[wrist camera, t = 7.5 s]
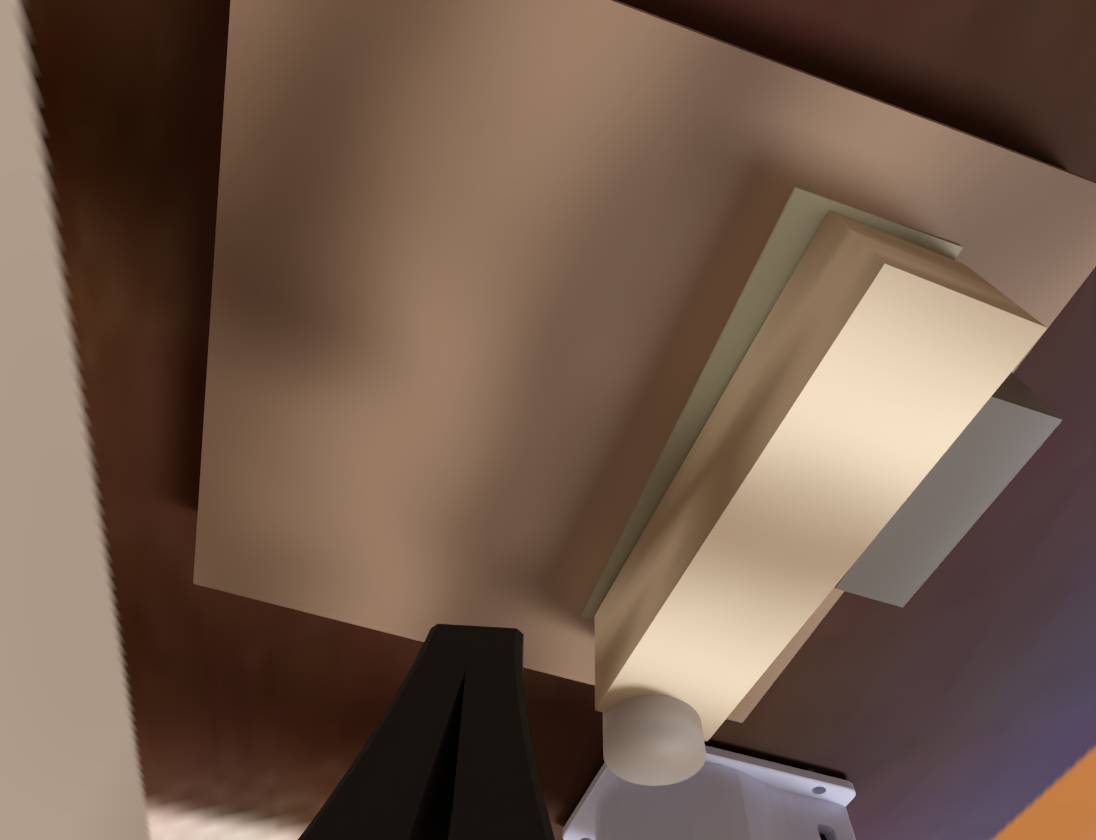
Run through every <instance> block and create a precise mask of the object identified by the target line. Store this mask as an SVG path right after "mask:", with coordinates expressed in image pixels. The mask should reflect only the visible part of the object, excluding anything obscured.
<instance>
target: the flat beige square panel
mask: <svg viewBox="0 0 1096 840" xmlns="http://www.w3.org/2000/svg"><path fill="white" fill-rule="evenodd" d="M829 210H831V211H834V212H836V213H839V214H841V215H844V216H846V217H849V218H851V219H854V220H856V221H859V222H861V223H864V224H866V225H869V226H871V227H874V228H876V229H878V230H881V231H883V232H886V233H888V234H891V235H893V236H896V237H898V238H901V239H903V240H906V241H908V242H911V243H913V244H916V245H918V246H921V247H923V248H926V249H928V250H931V251H933V252H936V253H938V254H941V255H943V256H946V257H948V258H950V259H953V260H955V261H958V262H960V263H963V264H965V265H966V266H967V267H969V268H970V269H971V270H973V271H974V272H975V273H977V274H978V275H979V276H980V277H982V278H983V279H984V280H986V281H987V282H988V283H990V284H991V285H992V286H994V287H995V288H996V289H997V290H999V291H1000V292H1001V293H1003V294H1004V295H1005V296H1007V297H1008V298H1009V299H1010V300H1012V301H1013V302H1014V303H1016V304H1017V305H1018V306H1020V307H1021V308H1022V309H1024V310H1025V311H1026V312H1027V313H1029V314H1030V315H1031V316H1033V317H1034V318H1035V319H1037V320H1038V321H1039V322H1040V323H1042V324H1043V325H1044V326H1046V327H1047V328H1048V327H1049V326H1050V325H1051V323H1052V322H1053V321H1054V319H1055V318H1056V317H1057V316H1058V314H1059V313H1060V312H1061V310H1062V309H1063V308H1064V306H1065V305H1066V304H1067V303H1068V301H1069V300H1070V299H1071V297H1072V296H1073V295H1074V294H1075V292H1076V291H1077V290H1078V288H1079V287H1080V286H1081V284H1082V283H1083V282H1084V281H1085V279H1086V278H1087V277H1088V275H1089V274H1090V273H1091V272H1092V270H1093V269H1094V268H1095V266H1096V182H1094V181H1092V180H1089V179H1087V178H1084V177H1082V176H1080V175H1077V174H1075V173H1072V172H1070V171H1067V170H1064V169H1062V168H1059V167H1056V166H1054V165H1051V164H1048V163H1046V162H1043V161H1041V160H1038V159H1035V158H1033V157H1030V156H1027V155H1025V154H1022V153H1019V152H1017V151H1014V150H1011V149H1009V148H1006V147H1004V146H1001V145H998V144H996V143H993V142H990V141H988V140H985V139H982V138H980V137H977V136H974V135H972V134H969V133H966V132H964V131H961V130H959V129H956V128H953V127H951V126H948V125H945V124H943V123H940V122H937V121H935V120H932V119H929V118H927V117H924V116H921V115H919V114H916V113H914V112H911V111H908V110H906V109H903V108H900V107H898V106H895V105H892V104H890V103H887V102H884V101H882V100H879V99H876V98H874V97H871V96H869V95H866V94H863V93H861V92H858V91H855V90H853V89H850V88H847V87H845V86H842V85H839V84H837V83H834V82H831V81H829V80H826V79H824V78H821V77H818V76H816V75H813V74H810V73H808V72H805V71H802V70H800V69H797V68H794V67H792V66H789V65H786V64H784V63H781V62H779V61H776V60H773V59H771V58H768V57H765V56H763V55H760V54H757V53H755V52H752V51H749V50H747V49H744V48H741V47H739V46H736V45H734V44H731V43H728V42H726V41H723V40H720V39H718V38H715V37H712V36H710V35H707V34H704V33H702V32H699V31H696V30H694V29H691V28H689V27H686V26H683V25H681V24H678V23H675V22H673V21H670V20H667V19H665V18H662V17H659V16H657V15H654V14H651V13H649V12H646V11H644V10H641V9H638V8H636V7H633V6H630V5H628V4H625V3H622V2H620V1H617V0H230V15H229V31H228V47H227V62H226V78H225V94H224V109H223V125H222V141H221V156H220V172H219V188H218V203H217V219H216V235H215V250H214V266H213V282H212V297H211V313H210V329H209V344H208V360H207V375H206V391H205V407H204V422H203V438H202V454H201V469H200V485H199V501H198V516H197V532H196V548H195V563H194V579H193V584H197V585H201V586H204V587H208V588H212V589H216V590H220V591H224V592H228V593H232V594H236V595H240V596H244V597H248V598H252V599H256V600H260V601H264V602H268V603H272V604H275V605H279V606H283V607H287V608H291V609H295V610H299V611H303V612H307V613H311V614H315V615H319V616H323V617H327V618H331V619H335V620H339V621H342V622H346V623H350V624H354V625H358V626H362V627H366V628H370V629H374V630H378V631H382V632H386V633H390V634H394V635H398V636H402V637H406V638H410V639H413V640H417V641H421V642H425V640H426V637H427V635H428V633H429V631H430V629H431V628H432V627H433V626H435V625H436V624H451V625H468V626H485V627H503V628H517V629H518V630H519V631H520V632H522V633H523V634H524V649H523V667H524V668H528V669H532V670H536V671H540V672H544V673H548V674H551V675H555V676H559V677H563V678H567V679H571V680H575V681H579V682H583V683H587V684H591V685H595V614H596V612H597V611H598V609H599V607H600V605H601V604H602V602H603V600H604V598H605V597H606V595H607V593H608V592H609V590H610V588H611V586H612V585H613V583H614V581H615V579H616V578H617V576H618V574H619V573H620V571H621V569H622V567H623V566H624V564H625V562H626V560H627V559H628V557H629V555H630V554H631V552H632V550H633V548H634V547H635V545H636V543H637V541H638V540H639V538H640V536H641V535H642V533H643V531H644V529H645V528H646V526H647V524H648V522H649V521H650V519H651V517H652V516H653V514H654V512H655V510H656V509H657V507H658V505H659V503H660V502H661V500H662V498H663V497H664V495H665V493H666V491H667V490H668V488H669V486H670V484H671V483H672V481H673V479H674V478H675V476H676V474H677V472H678V471H679V469H680V467H681V465H682V464H683V462H684V460H685V459H686V457H687V455H688V453H689V452H690V450H691V448H692V446H693V445H694V443H695V441H696V440H697V438H698V436H699V434H700V433H701V431H702V429H703V427H704V426H705V424H706V422H707V421H708V419H709V417H710V415H711V414H712V412H713V410H714V408H715V407H716V405H717V403H718V402H719V400H720V398H721V396H722V395H723V393H724V391H725V389H726V388H727V386H728V384H729V383H730V381H731V379H732V377H733V376H734V374H735V372H736V370H737V369H738V367H739V365H740V364H741V362H742V360H743V358H744V357H745V355H746V353H747V351H748V350H749V348H750V346H751V345H752V343H753V341H754V339H755V338H756V336H757V334H758V332H759V331H760V329H761V327H762V326H763V324H764V322H765V320H766V319H767V317H768V315H769V313H770V312H771V310H772V308H773V307H774V305H775V303H776V301H777V300H778V298H779V296H780V294H781V293H782V291H783V289H784V288H785V286H786V284H787V282H788V281H789V279H790V277H791V275H792V274H793V272H794V270H795V269H796V267H797V265H798V263H799V262H800V260H801V258H802V256H803V255H804V253H805V251H806V250H807V248H808V246H809V244H810V243H811V241H812V239H813V237H814V236H815V234H816V232H817V231H818V229H819V227H820V225H821V224H822V222H823V220H824V218H825V217H826V215H827V213H828V212H829ZM1046 330H1047V329H1046ZM1046 330H1045V331H1046ZM1043 334H1044V333H1043ZM1043 334H1042V335H1043ZM1042 335H1041V336H1042ZM1039 339H1040V338H1039ZM1039 339H1038V340H1039ZM1038 340H1037V341H1038ZM1037 341H1036V343H1037ZM1036 343H1035V344H1036ZM1035 344H1034V345H1035ZM1034 345H1033V346H1032V347H1031V349H1032V348H1033V347H1034ZM1031 349H1030V350H1031ZM1030 350H1029V351H1028V352H1027V354H1028V353H1029V352H1030ZM1027 354H1026V355H1025V356H1024V357H1023V358H1022V360H1021V361H1020V362H1019V363H1018V365H1017V366H1016V367H1015V368H1014V369H1013V371H1012V372H1011V373H1010V374H1009V375H1008V377H1007V378H1006V379H1005V380H1004V382H1003V383H1002V384H1001V385H1000V386H999V388H998V389H997V390H996V391H995V392H994V394H993V395H992V396H991V397H990V399H989V400H988V401H987V402H986V403H985V405H984V406H983V407H982V408H981V409H980V411H979V412H978V413H977V414H976V416H975V417H974V418H973V419H972V420H971V422H970V423H969V424H968V425H967V427H966V428H965V429H964V430H963V431H962V433H961V434H960V435H959V436H958V437H957V439H956V440H955V441H954V442H953V444H952V445H951V446H950V447H949V448H948V450H947V451H946V452H945V453H944V454H943V456H942V457H941V458H940V459H939V461H938V462H937V463H936V464H935V465H934V467H933V468H932V469H931V470H930V471H929V473H928V474H927V475H926V476H925V478H924V479H923V480H922V481H921V482H920V484H919V485H918V486H917V487H916V489H915V490H914V491H913V492H912V493H911V495H910V496H909V497H908V498H907V499H906V501H905V502H904V503H903V504H902V506H901V507H900V508H899V509H898V510H897V512H896V513H895V514H894V515H893V516H892V518H891V519H890V520H889V521H888V523H887V524H886V525H885V526H884V527H883V529H882V530H881V531H880V532H879V533H878V535H877V536H876V537H875V538H874V540H873V541H872V542H871V543H870V544H869V546H868V547H867V548H866V549H865V551H864V552H863V553H862V554H861V555H860V557H859V558H858V559H857V560H856V561H855V563H854V564H853V565H852V566H851V568H850V569H849V570H848V571H847V572H846V574H845V575H844V576H843V577H842V578H841V580H840V581H839V582H838V583H837V585H836V586H835V587H834V588H833V589H832V591H831V592H830V593H829V594H828V595H827V597H826V598H825V599H824V600H823V602H822V603H821V604H820V605H819V606H818V608H817V609H816V610H815V611H814V613H813V614H812V615H811V616H810V617H809V619H808V620H807V621H806V622H805V623H804V625H803V626H802V627H801V628H800V630H799V631H798V632H797V633H796V634H795V636H794V637H793V638H792V639H791V640H790V642H789V643H788V644H787V645H786V647H785V648H784V649H783V650H782V651H781V653H780V654H779V655H778V656H777V657H776V659H775V660H774V661H773V662H772V664H771V665H770V666H769V667H768V668H767V670H766V671H765V672H764V673H763V675H762V676H761V677H760V678H759V679H758V681H757V682H756V683H755V684H754V685H753V687H752V688H751V689H750V690H749V692H748V693H747V694H746V695H745V696H744V698H743V699H742V700H741V701H740V702H739V704H738V705H737V706H736V707H735V709H734V710H733V711H732V712H731V713H730V715H729V716H728V717H727V718H726V719H729V720H733V721H737V722H741V723H743V721H744V720H745V719H746V717H747V716H748V715H749V714H750V712H751V711H752V710H753V708H754V707H755V706H756V705H757V703H758V702H759V701H760V699H761V698H762V697H763V695H764V694H765V693H766V692H767V690H768V689H769V688H770V686H771V685H772V684H773V683H774V681H775V680H776V679H777V677H778V676H779V675H780V674H781V672H782V671H783V670H784V668H785V667H786V666H787V664H788V663H789V662H790V661H791V659H792V658H793V657H794V655H795V654H796V653H797V652H798V650H799V649H800V648H801V646H802V645H803V644H804V642H805V641H806V640H807V639H808V637H809V636H810V635H811V633H812V632H813V631H814V630H815V628H816V627H817V626H818V624H819V623H820V622H821V621H822V619H823V618H824V617H825V615H826V614H827V613H828V611H829V610H830V609H831V608H832V606H833V605H834V604H835V602H836V601H837V600H838V599H839V597H840V596H841V595H842V593H843V592H844V591H846V592H850V593H853V594H857V595H860V596H864V597H868V598H871V599H875V600H878V601H882V602H885V603H889V604H892V605H896V606H899V607H904V605H905V604H906V603H907V602H908V601H909V600H910V598H911V597H912V596H913V595H914V594H915V593H916V591H917V590H918V589H919V588H920V587H921V585H922V584H923V583H924V582H925V581H926V580H927V578H928V577H929V576H930V575H931V574H932V573H933V571H934V570H935V569H936V568H937V567H938V566H939V564H940V563H941V562H942V561H943V560H944V559H945V557H946V556H947V555H948V554H949V553H950V551H951V550H952V549H953V548H954V547H955V546H956V544H957V543H958V542H959V541H960V540H961V539H962V537H963V536H964V535H965V534H966V533H967V532H968V530H969V529H970V528H971V527H972V526H973V524H974V523H975V522H976V521H977V520H978V519H979V517H980V516H981V515H982V514H983V513H984V512H985V510H986V509H987V508H988V507H989V506H990V505H991V503H992V502H993V501H994V500H995V499H996V498H997V496H998V495H999V494H1000V493H1001V492H1002V490H1003V489H1004V488H1005V487H1006V486H1007V485H1008V483H1009V482H1010V481H1011V480H1012V479H1013V478H1014V476H1015V475H1016V474H1017V473H1018V472H1019V471H1020V469H1021V468H1022V467H1023V466H1024V465H1025V464H1026V462H1027V461H1028V460H1029V459H1030V458H1031V456H1032V455H1033V454H1034V453H1035V452H1036V451H1037V449H1038V448H1039V447H1040V446H1041V445H1042V444H1043V442H1044V441H1045V440H1046V439H1047V438H1048V437H1049V435H1050V434H1051V433H1052V432H1053V431H1054V429H1055V428H1056V427H1057V426H1058V425H1059V424H1060V422H1061V421H1062V419H1061V418H1060V417H1059V416H1058V415H1057V414H1056V413H1055V412H1054V411H1053V410H1052V409H1051V408H1049V407H1048V406H1047V405H1046V404H1045V403H1044V402H1043V401H1042V400H1041V399H1040V398H1039V397H1038V396H1037V395H1036V394H1035V393H1033V392H1032V391H1031V390H1030V389H1029V388H1028V387H1027V386H1026V385H1025V384H1024V383H1023V382H1022V381H1021V380H1020V379H1019V378H1017V377H1016V376H1015V375H1014V374H1013V372H1014V371H1015V370H1016V368H1017V367H1018V366H1019V365H1020V363H1021V362H1022V361H1023V359H1024V358H1025V357H1026V356H1027Z"/></svg>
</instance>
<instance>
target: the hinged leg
mask: <svg viewBox="0 0 1096 840" xmlns="http://www.w3.org/2000/svg"><path fill="white" fill-rule="evenodd" d="M1046 329H1047V327H1046V326H1044V325H1043V324H1042V323H1040V322H1039V321H1038V320H1037V319H1035V318H1034V317H1033V316H1031V315H1030V314H1029V313H1027V312H1026V311H1025V310H1024V309H1022V308H1021V307H1020V306H1018V305H1017V304H1016V303H1014V302H1013V301H1012V300H1010V299H1009V298H1008V297H1007V296H1005V295H1004V294H1003V293H1001V292H1000V291H999V290H997V289H996V288H995V287H994V286H992V285H991V284H990V283H988V282H987V281H986V280H984V279H983V278H982V277H980V276H979V275H978V274H977V273H975V272H974V271H973V270H971V269H970V268H969V267H967V266H966V265H965V264H963V263H960V262H958V261H955V260H953V259H950V258H948V257H946V256H943V255H941V254H938V253H936V252H933V251H931V250H928V249H926V248H923V247H921V246H918V245H916V244H913V243H911V242H908V241H906V240H903V239H901V238H898V237H896V236H893V235H891V234H888V233H886V232H883V231H881V230H878V229H876V228H874V227H871V226H869V225H866V224H864V223H861V222H859V221H856V220H854V219H851V218H849V217H846V216H844V215H841V214H839V213H836V212H834V211H831V210H829V212H828V213H827V215H826V217H825V218H824V220H823V222H822V224H821V225H820V227H819V229H818V231H817V232H816V234H815V236H814V237H813V239H812V241H811V243H810V244H809V246H808V248H807V250H806V251H805V253H804V255H803V256H802V258H801V260H800V262H799V263H798V265H797V267H796V269H795V270H794V272H793V274H792V275H791V277H790V279H789V281H788V282H787V284H786V286H785V288H784V289H783V291H782V293H781V294H780V296H779V298H778V300H777V301H776V303H775V305H774V307H773V308H772V310H771V312H770V313H769V315H768V317H767V319H766V320H765V322H764V324H763V326H762V327H761V329H760V331H759V332H758V334H757V336H756V338H755V339H754V341H753V343H752V345H751V346H750V348H749V350H748V351H747V353H746V355H745V357H744V358H743V360H742V362H741V364H740V365H739V367H738V369H737V370H736V372H735V374H734V376H733V377H732V379H731V381H730V383H729V384H728V386H727V388H726V389H725V391H724V393H723V395H722V396H721V398H720V400H719V402H718V403H717V405H716V407H715V408H714V410H713V412H712V414H711V415H710V417H709V419H708V421H707V422H706V424H705V426H704V427H703V429H702V431H701V433H700V434H699V436H698V438H697V440H696V441H695V443H694V445H693V446H692V448H691V450H690V452H689V453H688V455H687V457H686V459H685V460H684V462H683V464H682V465H681V467H680V469H679V471H678V472H677V474H676V476H675V478H674V479H673V481H672V483H671V484H670V486H669V488H668V490H667V491H666V493H665V495H664V497H663V498H662V500H661V502H660V503H659V505H658V507H657V509H656V510H655V512H654V514H653V516H652V517H651V519H650V521H649V522H648V524H647V526H646V528H645V529H644V531H643V533H642V535H641V536H640V538H639V540H638V541H637V543H636V545H635V547H634V548H633V550H632V552H631V554H630V555H629V557H628V559H627V560H626V562H625V564H624V566H623V567H622V569H621V571H620V573H619V574H618V576H617V578H616V579H615V581H614V583H613V585H612V586H611V588H610V590H609V592H608V593H607V595H606V597H605V598H604V600H603V602H602V604H601V605H600V607H599V609H598V611H597V612H596V614H595V710H596V711H599V712H603V757H604V762H605V764H606V766H607V767H608V768H609V770H610V771H611V772H612V773H614V774H615V775H616V776H618V777H620V778H622V779H624V780H626V781H628V782H632V783H635V784H640V785H648V786H661V785H669V784H674V783H678V782H681V781H684V780H686V779H688V778H690V777H692V776H693V775H695V774H696V773H697V772H698V771H699V770H700V769H701V768H702V766H703V765H704V763H705V760H706V750H705V743H704V741H708V740H709V739H710V738H711V737H712V735H713V734H714V733H715V732H716V730H717V729H718V728H719V727H720V726H721V724H722V723H723V722H724V721H725V719H726V718H727V717H728V716H729V715H730V713H731V712H732V711H733V710H734V709H735V707H736V706H737V705H738V704H739V702H740V701H741V700H742V699H743V698H744V696H745V695H746V694H747V693H748V692H749V690H750V689H751V688H752V687H753V685H754V684H755V683H756V682H757V681H758V679H759V678H760V677H761V676H762V675H763V673H764V672H765V671H766V670H767V668H768V667H769V666H770V665H771V664H772V662H773V661H774V660H775V659H776V657H777V656H778V655H779V654H780V653H781V651H782V650H783V649H784V648H785V647H786V645H787V644H788V643H789V642H790V640H791V639H792V638H793V637H794V636H795V634H796V633H797V632H798V631H799V630H800V628H801V627H802V626H803V625H804V623H805V622H806V621H807V620H808V619H809V617H810V616H811V615H812V614H813V613H814V611H815V610H816V609H817V608H818V606H819V605H820V604H821V603H822V602H823V600H824V599H825V598H826V597H827V595H828V594H829V593H830V592H831V591H832V589H833V588H834V587H835V586H836V585H837V583H838V582H839V581H840V580H841V578H842V577H843V576H844V575H845V574H846V572H847V571H848V570H849V569H850V568H851V566H852V565H853V564H854V563H855V561H856V560H857V559H858V558H859V557H860V555H861V554H862V553H863V552H864V551H865V549H866V548H867V547H868V546H869V544H870V543H871V542H872V541H873V540H874V538H875V537H876V536H877V535H878V533H879V532H880V531H881V530H882V529H883V527H884V526H885V525H886V524H887V523H888V521H889V520H890V519H891V518H892V516H893V515H894V514H895V513H896V512H897V510H898V509H899V508H900V507H901V506H902V504H903V503H904V502H905V501H906V499H907V498H908V497H909V496H910V495H911V493H912V492H913V491H914V490H915V489H916V487H917V486H918V485H919V484H920V482H921V481H922V480H923V479H924V478H925V476H926V475H927V474H928V473H929V471H930V470H931V469H932V468H933V467H934V465H935V464H936V463H937V462H938V461H939V459H940V458H941V457H942V456H943V454H944V453H945V452H946V451H947V450H948V448H949V447H950V446H951V445H952V444H953V442H954V441H955V440H956V439H957V437H958V436H959V435H960V434H961V433H962V431H963V430H964V429H965V428H966V427H967V425H968V424H969V423H970V422H971V420H972V419H973V418H974V417H975V416H976V414H977V413H978V412H979V411H980V409H981V408H982V407H983V406H984V405H985V403H986V402H987V401H988V400H989V399H990V397H991V396H992V395H993V394H994V392H995V391H996V390H997V389H998V388H999V386H1000V385H1001V384H1002V383H1003V382H1004V380H1005V379H1006V378H1007V377H1008V375H1009V374H1010V373H1011V372H1012V371H1013V369H1014V368H1015V367H1016V366H1017V365H1018V363H1019V362H1020V361H1021V360H1022V358H1023V357H1024V356H1025V355H1026V354H1027V352H1028V351H1029V350H1030V349H1031V347H1032V346H1033V345H1034V344H1035V343H1036V341H1037V340H1038V339H1039V338H1040V337H1041V335H1042V334H1043V333H1044V332H1045V330H1046Z"/></svg>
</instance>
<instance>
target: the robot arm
mask: <svg viewBox="0 0 1096 840" xmlns="http://www.w3.org/2000/svg"><path fill="white" fill-rule="evenodd" d="M523 649H524V634H523V633H522V632H520V631H519V630H518V629H517V628H503V627H485V626H468V625H451V624H436V625H435V626H433V627H432V628H431V629H430V631H429V633H428V635H427V637H426V640H425V642H424V644H423V646H422V648H421V650H420V652H419V654H418V656H417V658H416V660H415V662H414V664H413V665H412V667H411V669H410V671H409V673H408V675H407V676H406V678H405V680H404V682H403V684H402V685H401V687H400V689H399V690H398V692H397V694H396V696H395V697H394V699H393V701H392V703H391V704H390V706H389V708H388V709H387V711H386V712H385V714H384V715H383V717H382V719H381V720H380V722H379V723H378V725H377V727H376V728H375V730H374V731H373V733H372V735H371V736H370V738H369V739H368V741H367V743H366V744H365V746H364V747H363V749H362V750H361V752H360V753H359V755H358V756H357V758H356V759H355V761H354V762H353V764H352V765H351V767H350V768H349V770H348V771H347V772H346V774H345V775H344V777H343V778H342V780H341V781H340V782H339V784H338V785H337V787H336V788H335V790H334V791H333V792H332V794H331V795H330V797H329V798H328V800H327V801H326V802H325V804H324V805H323V807H322V808H321V810H320V811H319V812H318V814H317V815H316V816H315V818H314V819H313V820H312V822H311V823H310V824H309V826H308V827H307V828H306V830H305V831H304V832H303V834H302V835H301V836H300V838H299V839H298V840H555V839H554V835H553V831H552V827H551V824H550V820H549V816H548V812H547V808H546V804H545V800H544V796H543V792H542V788H541V783H540V779H539V775H538V770H537V765H536V760H535V755H534V750H533V745H532V740H531V734H530V729H529V723H528V717H527V710H526V701H525V693H524V683H523ZM705 750H706V760H705V763H704V765H703V766H702V768H701V769H700V770H699V771H698V772H697V773H696V774H695V775H693V776H692V777H690V778H688V779H686V780H684V781H681V782H678V783H674V784H669V785H661V786H648V785H640V784H635V783H632V782H628V781H626V780H624V779H622V778H620V777H618V776H616V775H615V774H614V773H612V772H611V771H610V770H609V768H608V767H607V766H606V764H605V762H604V764H603V766H602V767H601V769H600V770H599V772H598V773H597V775H596V777H595V778H594V780H593V781H592V783H591V785H590V786H589V788H588V789H587V791H586V792H585V794H584V796H583V797H582V799H581V800H580V802H579V804H578V805H577V807H576V808H575V810H574V812H573V813H572V815H571V816H570V818H569V819H568V821H567V823H566V824H565V826H564V827H563V839H564V840H856V839H855V836H854V832H853V829H852V826H851V823H850V819H849V816H848V813H847V810H846V807H845V806H846V805H847V804H848V803H849V802H850V801H851V800H852V799H853V798H854V797H855V795H856V794H855V790H854V787H853V784H852V783H851V782H849V781H847V780H844V779H840V778H835V777H831V776H827V775H823V774H819V773H815V772H811V771H807V770H803V769H799V768H795V767H791V766H787V765H783V764H779V763H775V762H771V761H767V760H763V759H759V758H755V757H751V756H747V755H743V754H739V753H735V752H731V751H727V750H722V749H718V748H714V747H710V746H706V745H705Z"/></svg>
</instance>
